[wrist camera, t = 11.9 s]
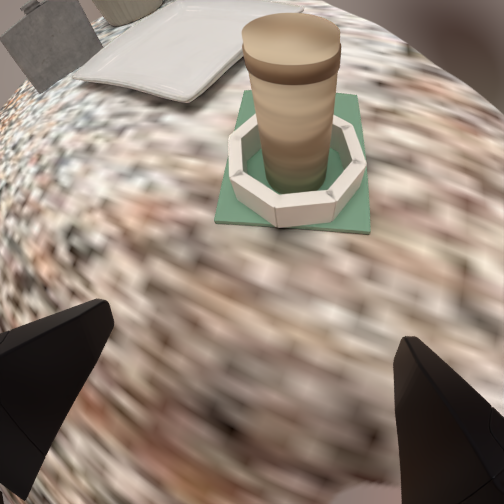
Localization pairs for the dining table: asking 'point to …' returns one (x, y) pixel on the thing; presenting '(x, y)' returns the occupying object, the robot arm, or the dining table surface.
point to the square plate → (179, 47)
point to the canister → (126, 10)
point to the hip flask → (51, 41)
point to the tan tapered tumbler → (293, 95)
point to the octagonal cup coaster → (304, 203)
